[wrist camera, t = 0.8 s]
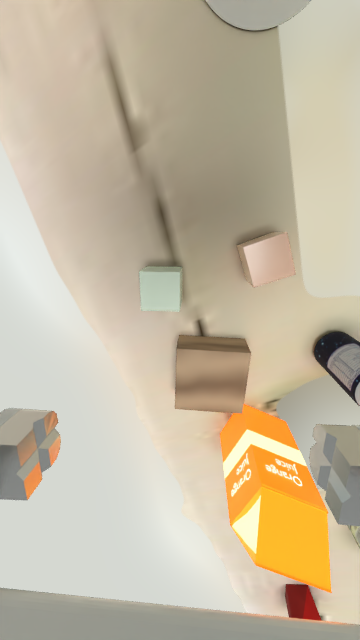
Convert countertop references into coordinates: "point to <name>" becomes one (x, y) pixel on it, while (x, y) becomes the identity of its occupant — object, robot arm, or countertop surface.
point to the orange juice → (274, 499)
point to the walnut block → (211, 373)
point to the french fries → (301, 602)
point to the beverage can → (341, 361)
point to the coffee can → (355, 533)
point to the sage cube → (161, 288)
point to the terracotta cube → (267, 258)
